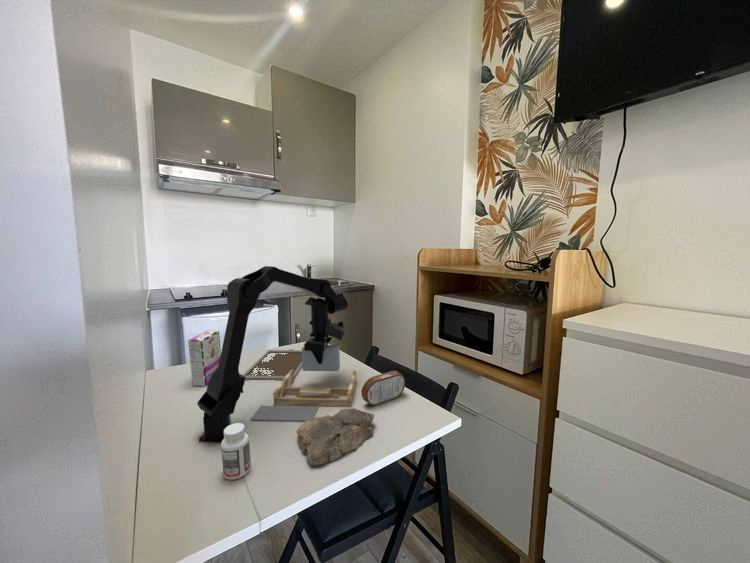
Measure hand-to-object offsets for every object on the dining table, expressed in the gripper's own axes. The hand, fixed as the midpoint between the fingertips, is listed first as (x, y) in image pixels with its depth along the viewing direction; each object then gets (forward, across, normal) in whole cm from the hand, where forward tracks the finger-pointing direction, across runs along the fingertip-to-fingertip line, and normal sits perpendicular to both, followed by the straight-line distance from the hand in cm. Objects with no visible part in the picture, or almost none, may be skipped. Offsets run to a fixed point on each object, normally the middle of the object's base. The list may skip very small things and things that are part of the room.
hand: (321, 361), depth 101 cm
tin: (+9, -9, -21) cm, 25 cm away
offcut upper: (+7, -10, 0) cm, 12 cm away
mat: (+8, -18, +7) cm, 21 cm away
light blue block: (+3, 0, 0) cm, 3 cm away
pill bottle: (+8, -39, +10) cm, 41 cm away
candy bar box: (+8, +3, +42) cm, 43 cm away
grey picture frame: (+9, +18, +21) cm, 29 cm away
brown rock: (+9, -27, -10) cm, 30 cm away
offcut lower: (+9, -10, -1) cm, 13 cm away
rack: (+8, -5, 0) cm, 10 cm away
